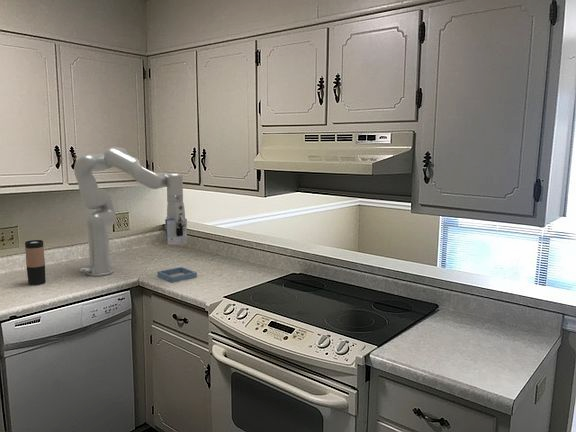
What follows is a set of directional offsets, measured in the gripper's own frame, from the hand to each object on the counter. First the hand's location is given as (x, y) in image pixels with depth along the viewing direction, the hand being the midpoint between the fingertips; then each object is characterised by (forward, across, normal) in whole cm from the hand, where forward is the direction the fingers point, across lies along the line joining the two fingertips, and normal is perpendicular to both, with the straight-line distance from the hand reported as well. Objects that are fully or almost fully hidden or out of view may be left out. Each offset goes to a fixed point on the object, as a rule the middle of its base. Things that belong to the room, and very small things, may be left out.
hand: (175, 234), depth 230 cm
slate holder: (+21, 0, 0) cm, 21 cm away
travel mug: (+22, +33, +55) cm, 68 cm away
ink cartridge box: (+5, 0, 0) cm, 5 cm away
